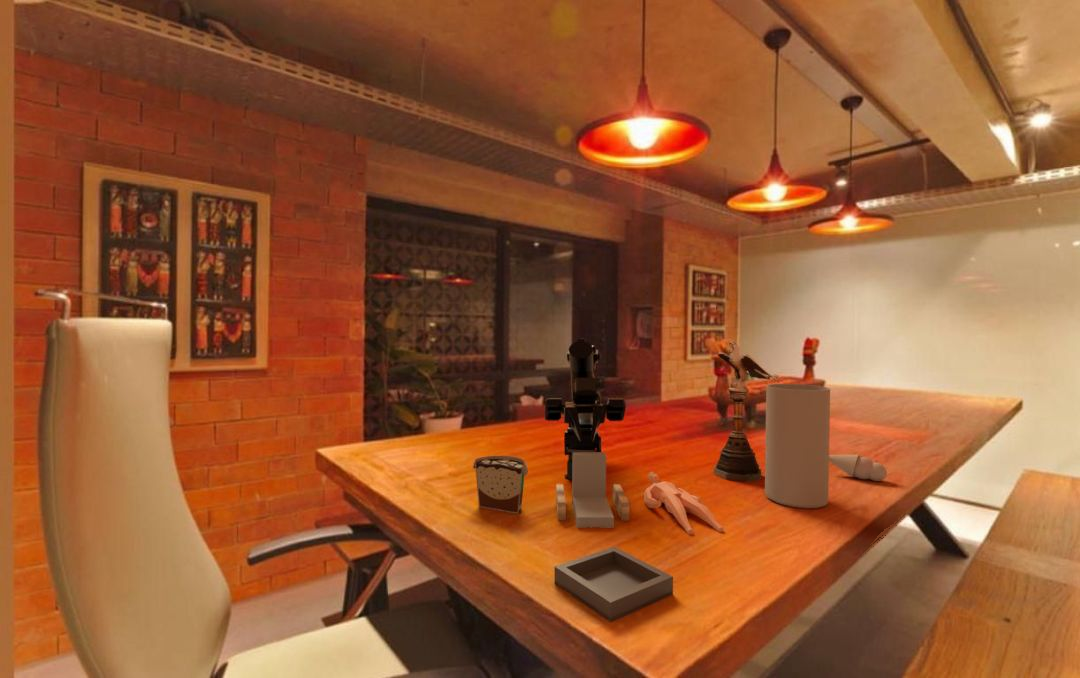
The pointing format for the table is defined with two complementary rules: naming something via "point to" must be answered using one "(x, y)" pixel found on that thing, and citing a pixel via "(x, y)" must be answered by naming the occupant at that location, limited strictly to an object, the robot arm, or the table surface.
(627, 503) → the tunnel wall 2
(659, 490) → the male figurine
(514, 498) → the food container
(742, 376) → the bird statue
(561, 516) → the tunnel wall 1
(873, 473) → the ice cream cone
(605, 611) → the tray
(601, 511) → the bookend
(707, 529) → the table surface
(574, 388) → the robot arm
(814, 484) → the cylinder vase
